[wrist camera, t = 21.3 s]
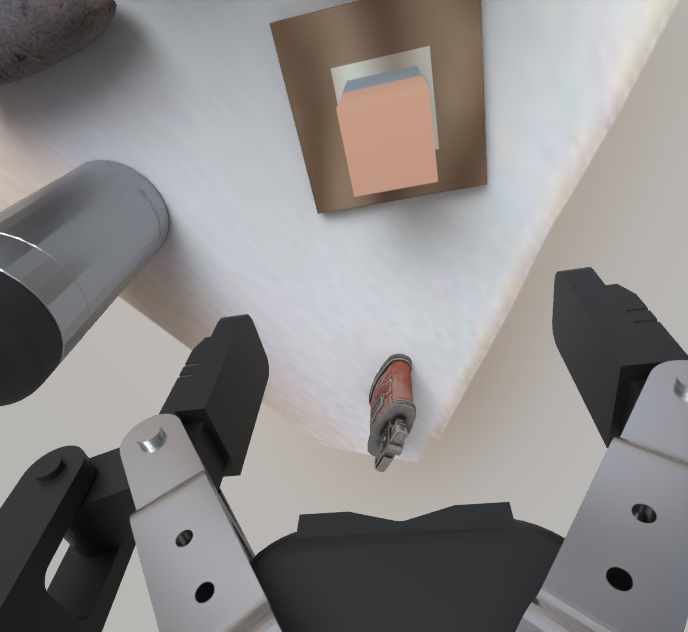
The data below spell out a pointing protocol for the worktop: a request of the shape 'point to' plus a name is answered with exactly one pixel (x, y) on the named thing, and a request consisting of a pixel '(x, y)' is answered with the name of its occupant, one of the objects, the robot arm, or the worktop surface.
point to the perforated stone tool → (47, 32)
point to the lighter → (390, 410)
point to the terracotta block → (388, 136)
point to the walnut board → (379, 57)
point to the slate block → (381, 78)
